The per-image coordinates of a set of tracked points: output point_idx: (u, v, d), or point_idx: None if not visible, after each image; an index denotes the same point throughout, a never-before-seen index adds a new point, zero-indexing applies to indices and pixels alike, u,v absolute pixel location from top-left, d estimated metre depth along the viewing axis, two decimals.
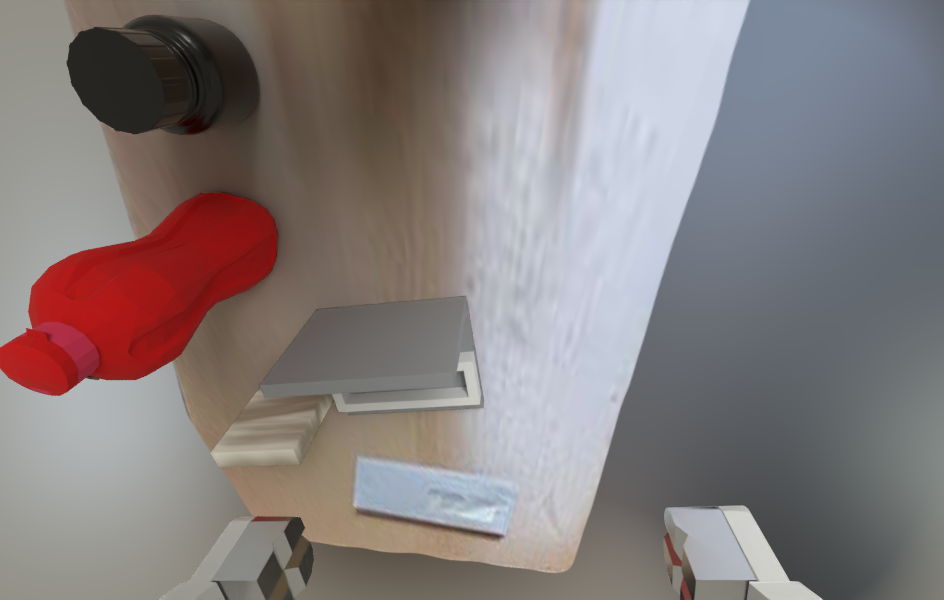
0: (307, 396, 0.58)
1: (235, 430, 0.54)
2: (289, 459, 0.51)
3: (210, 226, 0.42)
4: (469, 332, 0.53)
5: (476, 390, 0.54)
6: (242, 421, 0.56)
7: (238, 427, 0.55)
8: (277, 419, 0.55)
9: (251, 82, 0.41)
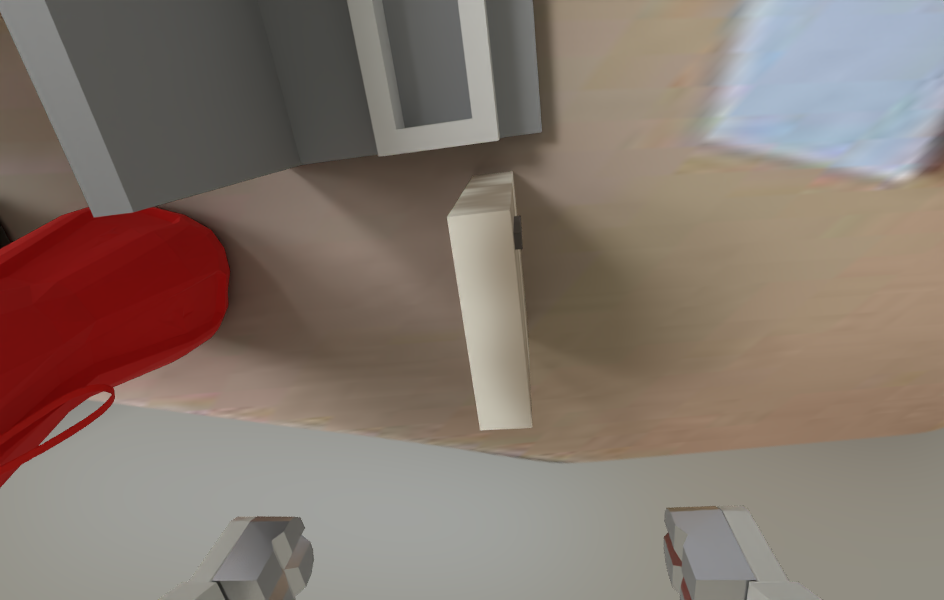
0: None
1: None
2: (488, 236, 0.17)
3: None
4: None
5: None
6: None
7: None
8: None
9: None
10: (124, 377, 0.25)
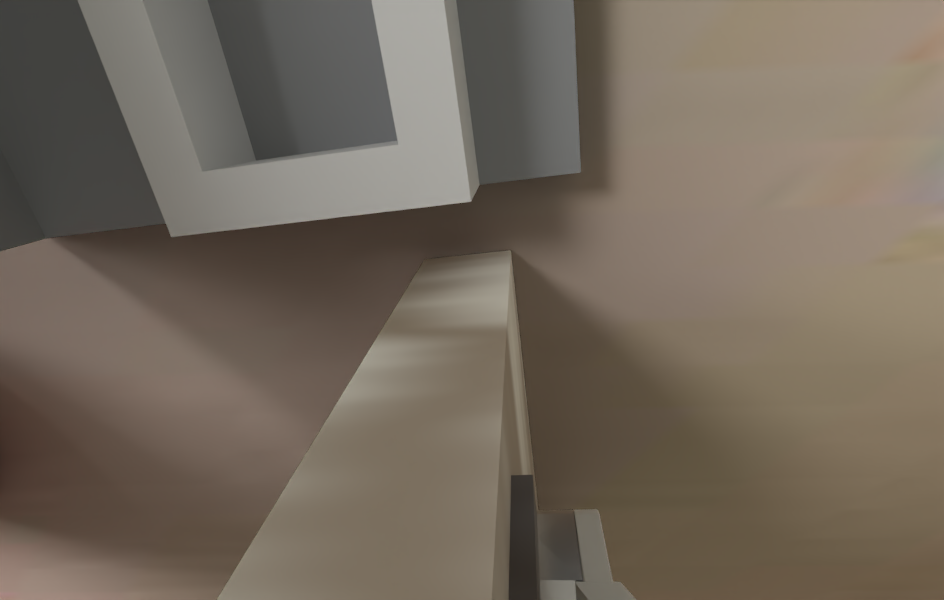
0: None
1: None
2: None
3: None
4: None
5: None
6: None
7: None
8: None
9: None
10: None
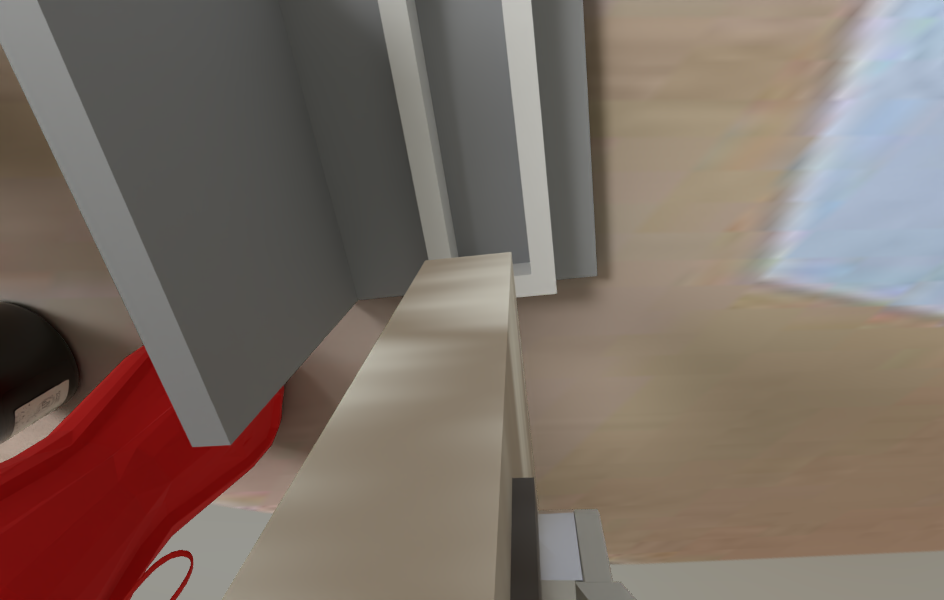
0: None
1: None
2: None
3: None
4: None
5: None
6: None
7: None
8: None
9: None
10: (192, 517, 0.26)
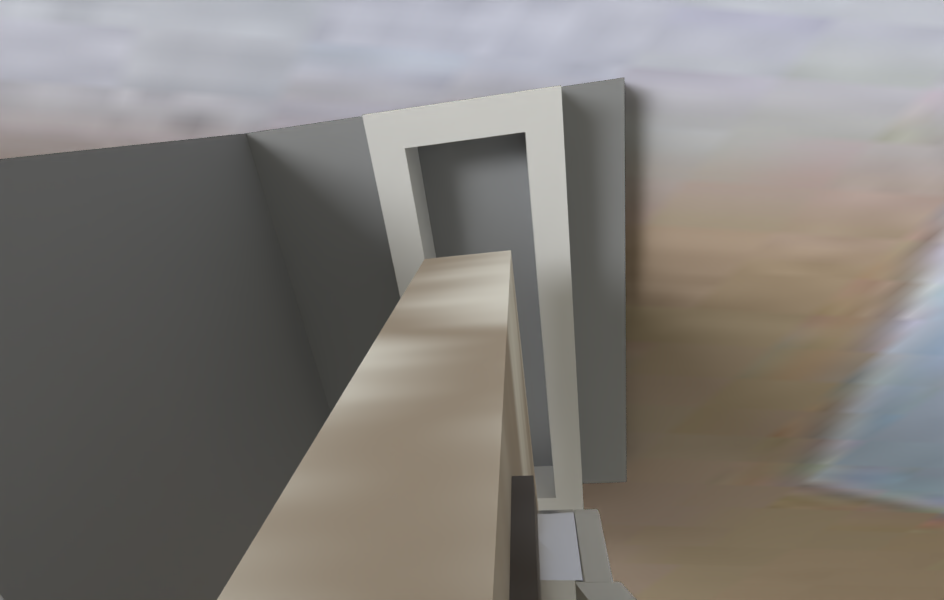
0: None
1: None
2: None
3: None
4: (311, 127, 0.17)
5: (491, 100, 0.14)
6: None
7: None
8: None
9: None
10: None
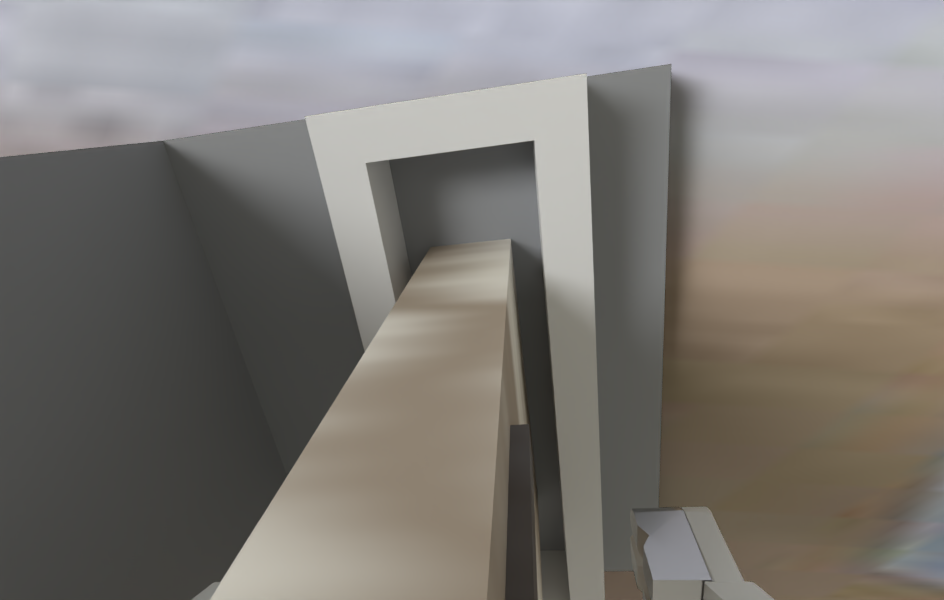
0: None
1: None
2: None
3: None
4: (248, 132, 0.13)
5: (486, 95, 0.10)
6: None
7: None
8: None
9: None
10: None
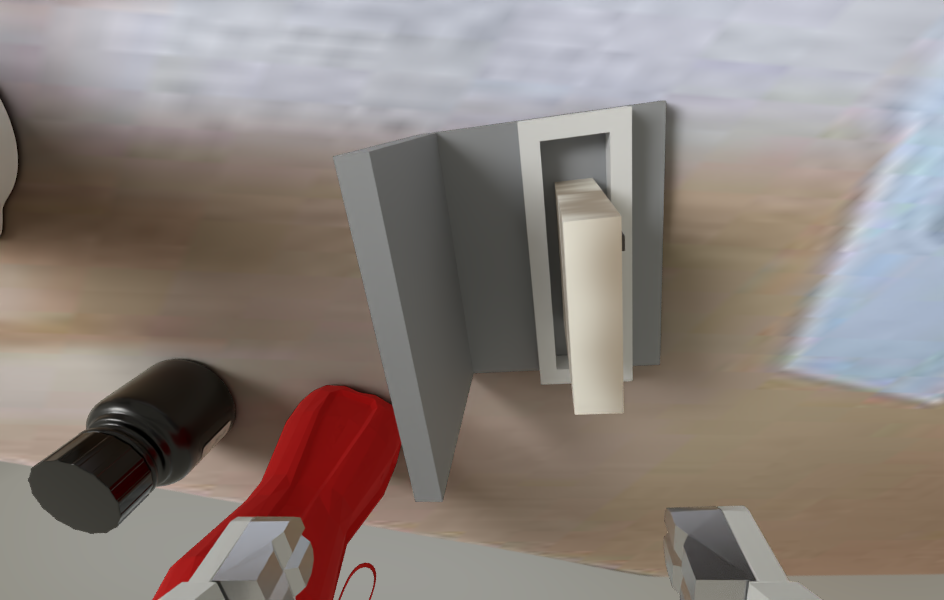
0: None
1: (569, 362, 0.26)
2: (599, 239, 0.20)
3: None
4: (476, 129, 0.29)
5: (592, 114, 0.26)
6: (567, 347, 0.27)
7: (568, 355, 0.26)
8: None
9: (173, 367, 0.39)
10: (352, 536, 0.34)
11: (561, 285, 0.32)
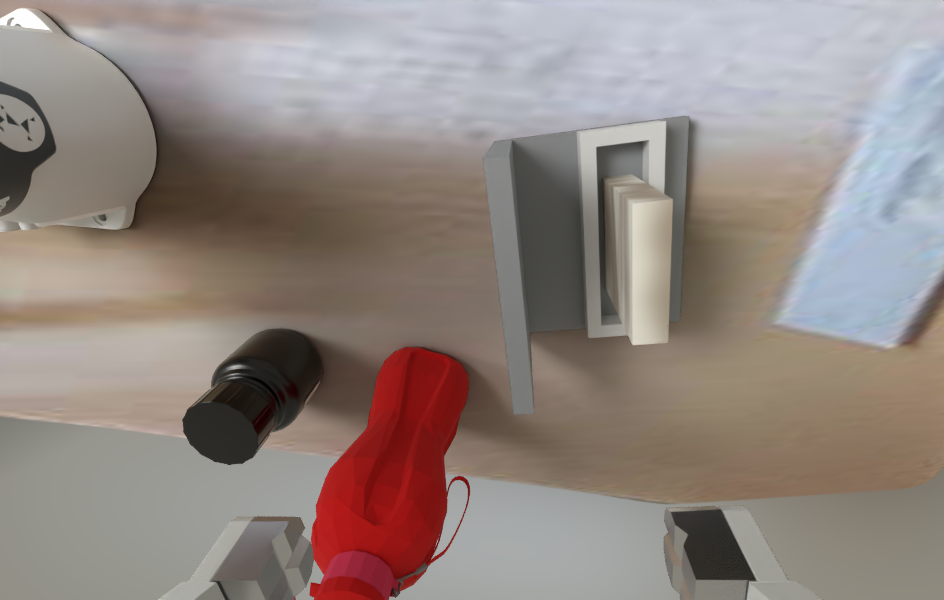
0: (607, 207, 0.37)
1: (621, 311, 0.35)
2: (657, 215, 0.28)
3: None
4: (544, 137, 0.38)
5: (636, 126, 0.35)
6: (618, 302, 0.36)
7: (620, 307, 0.35)
8: (617, 246, 0.34)
9: (276, 334, 0.47)
10: None
11: (605, 258, 0.40)
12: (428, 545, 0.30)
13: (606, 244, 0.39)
